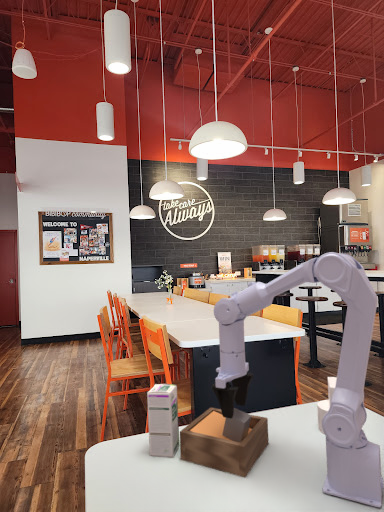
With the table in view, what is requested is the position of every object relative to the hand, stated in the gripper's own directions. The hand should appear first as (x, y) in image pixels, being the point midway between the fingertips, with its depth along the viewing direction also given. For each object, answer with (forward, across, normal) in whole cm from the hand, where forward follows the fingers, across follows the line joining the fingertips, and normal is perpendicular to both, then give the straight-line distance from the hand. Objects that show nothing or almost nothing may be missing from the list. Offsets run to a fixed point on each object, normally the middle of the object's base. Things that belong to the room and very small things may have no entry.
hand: (234, 410), depth 79 cm
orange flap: (+6, 0, -3) cm, 7 cm away
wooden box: (+10, 0, -2) cm, 10 cm away
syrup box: (+10, +6, -16) cm, 19 cm away
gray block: (+6, 0, 0) cm, 6 cm away
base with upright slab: (+10, -22, +18) cm, 30 cm away
